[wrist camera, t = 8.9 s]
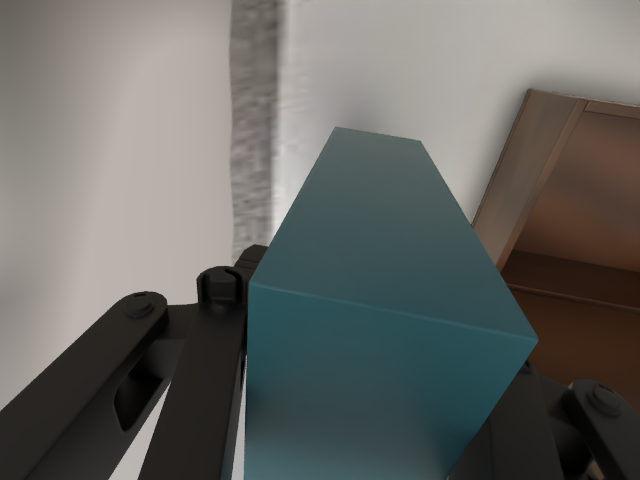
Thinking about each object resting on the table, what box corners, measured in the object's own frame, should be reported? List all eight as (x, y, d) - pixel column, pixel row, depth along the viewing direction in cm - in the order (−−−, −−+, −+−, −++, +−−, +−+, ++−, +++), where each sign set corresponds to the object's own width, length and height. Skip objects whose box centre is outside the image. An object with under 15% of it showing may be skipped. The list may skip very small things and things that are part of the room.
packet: (335, 126, 17) (247, 281, 5) (420, 140, 17) (541, 340, 5) (317, 245, 21) (242, 497, 9) (387, 258, 21) (408, 536, 9)
